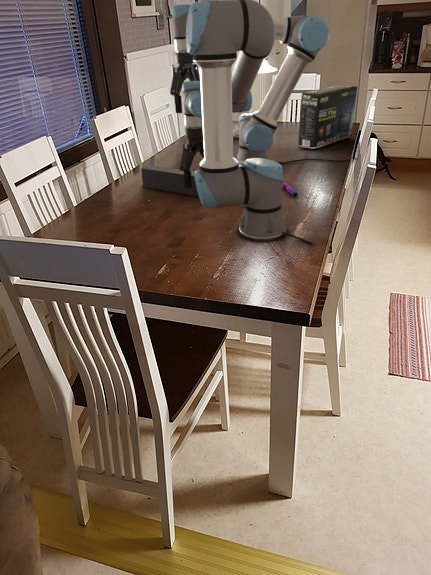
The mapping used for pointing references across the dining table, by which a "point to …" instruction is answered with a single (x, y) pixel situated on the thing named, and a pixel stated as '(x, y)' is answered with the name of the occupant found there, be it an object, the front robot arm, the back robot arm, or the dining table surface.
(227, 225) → the dining table surface
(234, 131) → the fossil
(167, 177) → the bar
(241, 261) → the dining table surface
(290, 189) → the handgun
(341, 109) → the router box
